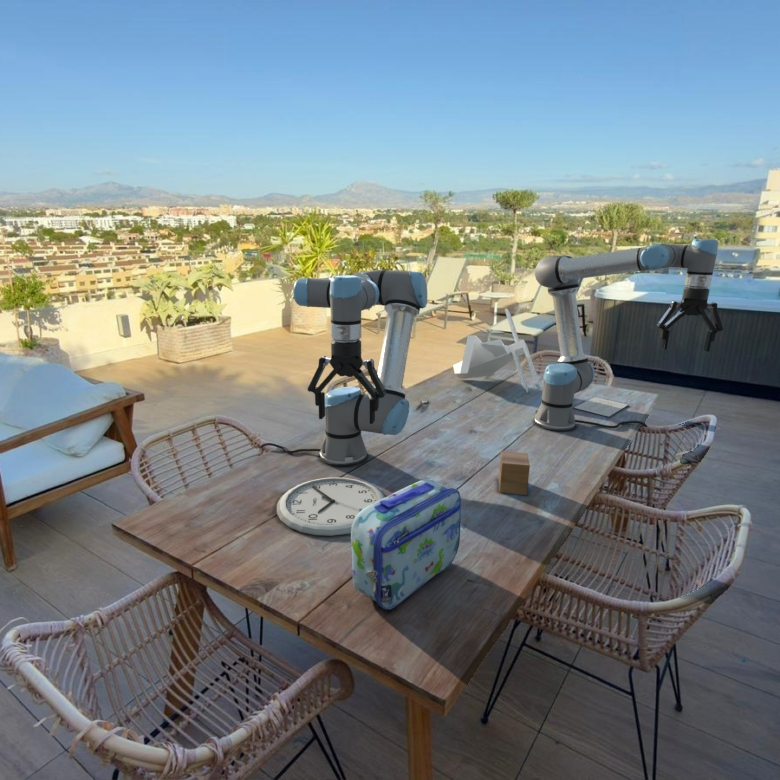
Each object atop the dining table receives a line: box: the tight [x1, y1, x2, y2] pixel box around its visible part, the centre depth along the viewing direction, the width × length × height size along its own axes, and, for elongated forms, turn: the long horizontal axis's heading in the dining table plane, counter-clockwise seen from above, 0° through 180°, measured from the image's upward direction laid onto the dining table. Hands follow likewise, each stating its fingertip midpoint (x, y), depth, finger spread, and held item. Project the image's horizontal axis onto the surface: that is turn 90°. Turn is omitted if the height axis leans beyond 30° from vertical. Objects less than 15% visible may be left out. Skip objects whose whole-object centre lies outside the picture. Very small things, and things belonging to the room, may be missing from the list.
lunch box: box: [350, 478, 462, 611], centre depth 110 cm, size 26×11×21 cm, turn 135°
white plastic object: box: [452, 307, 542, 394], centre depth 254 cm, size 37×45×31 cm
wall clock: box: [276, 476, 386, 537], centre depth 142 cm, size 30×2×30 cm
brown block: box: [498, 450, 531, 496], centre depth 153 cm, size 8×8×9 cm
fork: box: [415, 395, 430, 410], centre depth 224 cm, size 3×16×2 cm, turn 160°
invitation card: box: [573, 396, 629, 418], centre depth 226 cm, size 21×1×15 cm
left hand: (346, 419), depth 136 cm, fingers open, 13 cm apart
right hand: (685, 349), depth 180 cm, fingers open, 13 cm apart
